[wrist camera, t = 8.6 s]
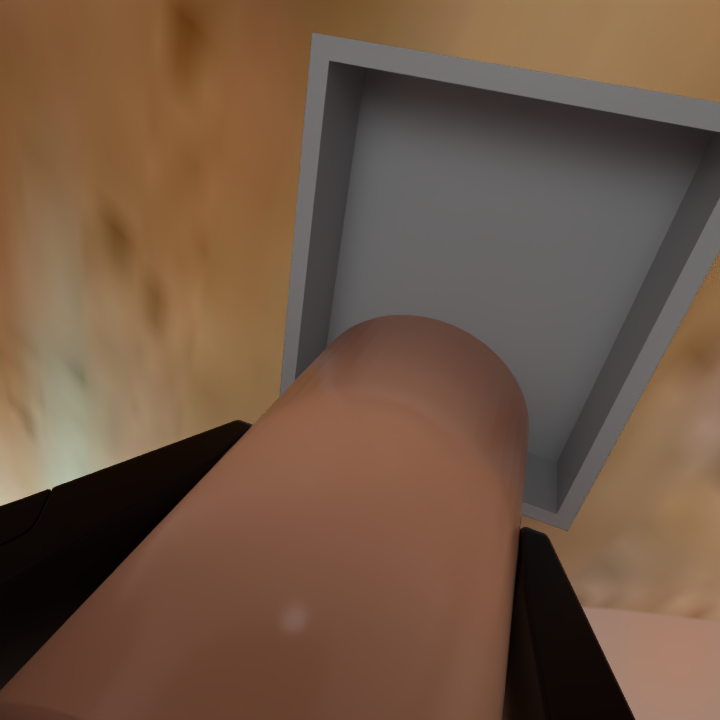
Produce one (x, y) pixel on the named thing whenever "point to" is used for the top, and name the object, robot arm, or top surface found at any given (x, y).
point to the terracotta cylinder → (321, 555)
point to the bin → (506, 231)
